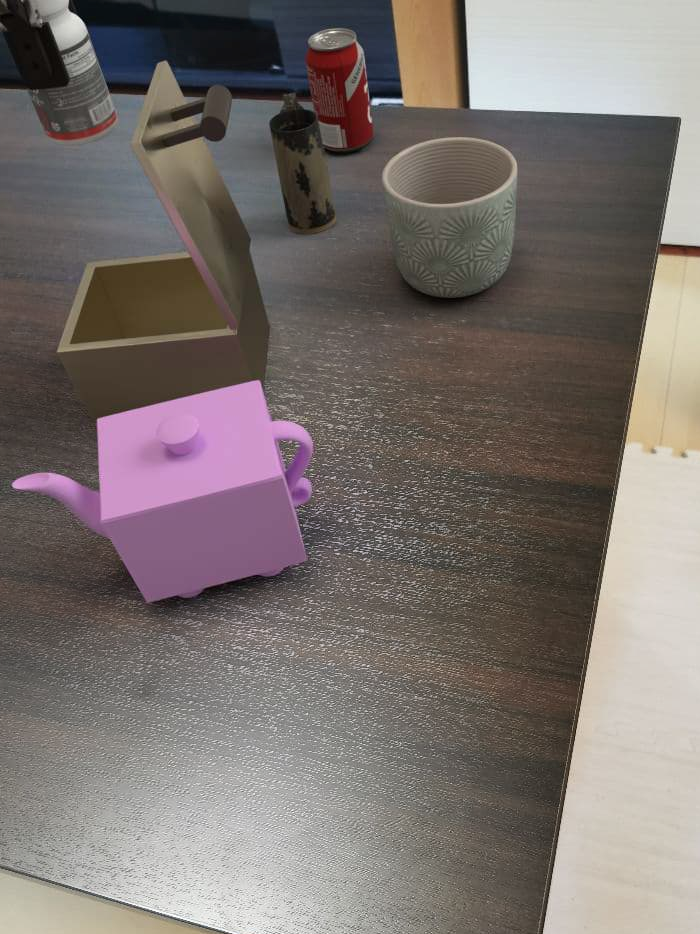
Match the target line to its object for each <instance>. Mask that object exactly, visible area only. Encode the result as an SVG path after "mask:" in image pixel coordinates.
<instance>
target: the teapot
mask: <svg viewBox="0 0 700 934" xmlns="http://www.w3.org/2000/svg"><path fill="white" fill-rule="evenodd" d="M96 433H97V436H96V437H97V459H98V484H99V485H98V487H99V492H97V491H95V490H92V489H89V488H88V487H86V486H83V485H82V484H80V483H79V482H77V481H76V480H73V479H72V478H69V477H67V476H66V475H65V476H64V475H62V474H58V473H53V472H36V473H31V474H26V475H24V476H21V477H19V478H17V479H16V480H14V481H13V482H12V484H11V486H12V488H13V489H15V490H19V491H25V492H26V491H27V492H34V493H42V494H44V495H47V496H49V497H52V498H54V499H55V500H57V501H59V502H60V503H62V505H64V506H65V507H67V509H69V510H70V512H72V514H73V515H75V516H76V517H77V518H78V519H79V521H81V522H82V523H83V524H84V525H85V526H86V527H87V528H89V529H90V530H91V531H93V532H95V534H98V535H99V536H102V537H104V538H106V539H109V540H110V542H111V543H112V545H113V547H114V549H115V551H116V552H117V554H118V555H119V558H120V559H121V560H122V562H123V564H124V566H125V567H126V569H127V571H128V573H129V574H130V576H131V578H132V579H133V581H134V583H135V584H136V586H137V588H138V589H139V592H140V593H141V595H142V597H143V598H144V600H145V602H146V604H149V603H152V602H153V603H154V602H156V601H160V600H164V599H168V598H172V597H175V596H178V597H181V598H185V599H187V598H193V597H196V596H199V594H201V593H202V592H203V591H204V590H205V589H206V588H210V587H213V586H218V585H222V584H225V583H229V582H232V581H236V580H240V579H244V578H245V579H246V578H249V577H252V576H256V575H259V576H262V577H265V578H267V577H273V576H276V575H278V574H279V573H281V572H282V571H283V570H284V569H285V568H286V567H290V566H294V565H298V564H300V563H304V562H308V556H307V553H306V548H305V545H304V541H303V535H302V532H301V528H300V523H299V520H298V515H297V511H296V507H299V506H302V505H304V504H306V503H307V502H309V500H310V499H311V497H312V493H313V486H312V483H311V482H310V480H309V479H308V478H306V477H305V476H303V475H304V474H305V472H306V470H307V468H308V467H309V464H310V463H311V460H312V457H313V454H314V444H313V439H312V437H311V435H310V434H309V432H308V430H306V428H304V427H303V426H302V425H300V424H298V423H297V422H293V421H289V420H280V419H279V420H272V417H271V414H270V411H269V406H268V404H267V400H266V397H265V393H264V389H262V386H261V383H260V381H259V380H256V381H252V382H247V383H243V384H238V385H234V386H230V387H226V388H221V389H217V390H213V391H209V392H204V393H200V394H196V395H192V396H188V397H183V398H179V399H175V400H171V401H167V402H163V403H159V404H155V405H150V406H146V407H142V408H138V409H134V410H130V411H126V412H122V413H118V414H114V415H110V416H106V417H102V418H99V419H97V429H96ZM279 441H291V442H296V443H298V444H299V446H298V449H297V452H296V454H295V456H294V457H293V459H292V461H291V463H290V464H289V465H288V466H287V469H286V465H285V461H284V459H283V455H282V452H281V448H280V444H279Z"/></svg>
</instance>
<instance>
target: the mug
mask: <svg viewBox="0 0 700 934" xmlns="http://www.w3.org/2000/svg"><path fill="white" fill-rule="evenodd" d="M282 97H283V105H282V107H281V109H280V111H279V113H278V114H275V115H274V116H273V117H271V118H270V120H269V123H268V126H269V130H270V136H271V137H270V138H271V141H272V147H273V152H274V159H275V162H276V163H275V164H276V168H277V174H278V179H279V183H280V188H281V189H280V190H281V195H282V200H283V205H284V210H285V215H286V221H287V226H288V228H289V229H290V230H291V231H292V232H295V233H298V234H303V235H310V234H317V233H322V232H324V231H326V230H329V228H331V227H333V225H335V224H336V222H337V220H338V219H337V217H338V215H337V211H336V205H335V201H334V200H335V199H334V196H333V190H332V186H331V180H330V175H329V169H328V163H327V159H326V158H327V157H326V153H325V148H324V147H323V142H322V137H321V132H320V127H319V121H318V116H317V114H316V113H315V112H314V110H310V109H307V108H304V107H303V106H302V105H301V103H299V102H298V99H297V94H296V92H295V91H294V92H291V93H283V94H282Z"/></svg>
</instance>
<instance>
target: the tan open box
mask: <svg viewBox="0 0 700 934" xmlns="http://www.w3.org/2000/svg"><path fill="white" fill-rule="evenodd" d="M270 327H271V326H270V323H269V319H268V315H267V311H266V307H265V303H264V300H263V296H262V293H261V288H260V284H259V281H258V277H257V273H256V269H255V265H254V261H253V258H252V253H251V250H250V251H249V258H248V266H247V273H246V281H245V289H244V296H243V304H242V311H241V319H240V326H239V328H237V329H233V330H230V328H229V326H228V324H227V322H226V321H225V319H224V317H223V315H222V313H221V311H220V310H219V308H218V306H217V304H216V302H215V300H214V299H213V297H212V295H211V293H210V291H209V289H208V288H207V286H206V284H205V282H204V280H203V278H202V277H201V275H200V273H199V271H198V269H197V267H196V266H195V264H194V262H193V260H192V258H191V256H190V255H189V253H188V251H183V252H174V253H173V252H172V253H164V254H154V255H146V256H137V257H126V258H118V259H117V258H116V259H109V260H97V261H90V262H87V263H86V266H85V268H84V271H83V274H82V277H81V280H80V283H79V286H78V288H77V292H76V294H75V298H74V301H73V303H72V306H71V309H70V312H69V315H68V317H67V321H66V324H65V326H64V330H63V333H62V334H61V335H62V336H61V338H60V340H59V344H58V346H57V350H56V354H57V356H58V358H59V360H60V361H61V364H62V366H63V367H64V369H65V371H66V373H67V375H68V377H69V379H70V381H71V382H72V385H73V386H74V388H75V391H76V392H77V393H78V394H77V395H78V397H79V398H80V400H81V403H82V404H83V406H84V408H85V409H86V412H87V414H88V415H89V418H90V419H91V421H92V423H93V424H94V427H95V428H96V430H97V419H99V418H102V417H106V416H110V415H114V414H118V413H122V412H126V411H130V410H134V409H138V408H142V407H146V406H150V405H155V404H159V403H163V402H167V401H171V400H175V399H179V398H183V397H188V396H192V395H196V394H200V393H204V392H209V391H213V390H217V389H221V388H226V387H230V386H234V385H238V384H243V383H247V382H252V381H256V380H259V381H260V383H261V386H262V389H263V390H265V389H264V387H265V376H266V368H267V359H268V358H267V357H268V346H269V336H270Z"/></svg>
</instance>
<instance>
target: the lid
mask: <svg viewBox="0 0 700 934" xmlns="http://www.w3.org/2000/svg"><path fill="white" fill-rule="evenodd" d="M168 62H169V61H167V60H162V61H159V62H158V63H157V64H156V67H155V69H154V72H153V75H152V79H151V81H150V85H149V87H148V90H147V93H146V96H145V99H144V102H143V105H142V108H141V110H140V114H139V117H138V119H137V122H136V126H135V128H134V131H133V134H132V137H131V140H130V142H129V143H130V144H129V146H130V148H131V150H132V152H133V153H134V156H135V157H136V159H137V161H138V163H139V165H140V166H141V168H142V171H143V172H144V173H145V175H146V177H147V180H148V181H149V183H150V185H151V186H152V189H153V191H154V192H155V194H156V196H157V197H158V199H159V202H160V203H161V205H162V207H163V209H164V210H165V212H166V214H167V216H168V218H169V220H170V222H171V223H172V225H173V227H174V229H175V231H176V233H177V234H178V236H179V238H180V240H181V242H182V243H183V246H184V247H185V249H186V252H188V253H189V255H190V256H191V258H192V260H193V262H194V264H195V266H196V267H197V269H198V271H199V273H200V275H201V277H202V278H203V280H204V282H205V284H206V286H207V288H208V289H209V291H210V293H211V295H212V297H213V299H214V300H215V302H216V304H217V306H218V308H219V310H220V311H221V313H222V315H223V317H224V319H225V321H226V322H227V324H228V326H229V328H230V330H233V329H237V328H239V326H240V319H241V311H242V304H243V296H244V289H245V281H246V273H247V266H248V258H249V251H250V252H251V242H252V238H251V236H250V234H249V232H248V230H247V227H246V226H245V223H244V220H243V219H242V216H241V214H240V213H239V211H238V209H237V206H236V203H235V202H234V200H233V197H232V196H231V194H230V192H229V189H228V187H227V186H226V183H225V181H224V179H223V177H222V174H221V173H220V170H219V168H218V167H217V164H216V162H215V160H214V158H213V156H212V153H211V151H210V149H209V147H208V145H207V143H206V141H205V139H206V140H207V141H210V142H214V143H216V142H220V141H222V140H223V139H224V138H225V136H226V134H227V129H228V123H229V119H230V113H231V109H232V103H233V95H232V93H231V92H230V90H229V89H228V88H227V87H226V86H224V85H222V84H213V85H212V86H210V88H209V89H208V90H207V93H206V97H203V98H199V99H198V100H194V101H191V102H187V100H186V98H185V96H184V94H183V92H182V90H181V88H180V85H179V83H178V81H177V79H176V77H175V75H174V73H173V71H172V69H171V66H170V65H169V63H168ZM200 114H201V119H200V122H199V123H197V121H196V120H195V117H194V116H196V115H200Z"/></svg>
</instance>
